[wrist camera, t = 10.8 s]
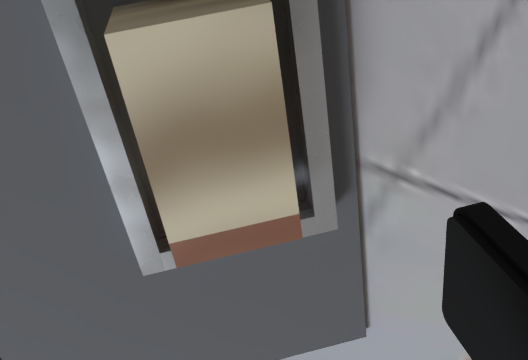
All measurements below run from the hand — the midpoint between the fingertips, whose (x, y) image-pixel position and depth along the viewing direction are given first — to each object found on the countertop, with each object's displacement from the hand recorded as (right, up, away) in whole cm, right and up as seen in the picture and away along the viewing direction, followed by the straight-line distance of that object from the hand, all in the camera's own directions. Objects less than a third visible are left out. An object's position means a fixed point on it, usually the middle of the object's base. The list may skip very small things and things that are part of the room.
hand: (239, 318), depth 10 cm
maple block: (-2, +6, +10) cm, 12 cm away
